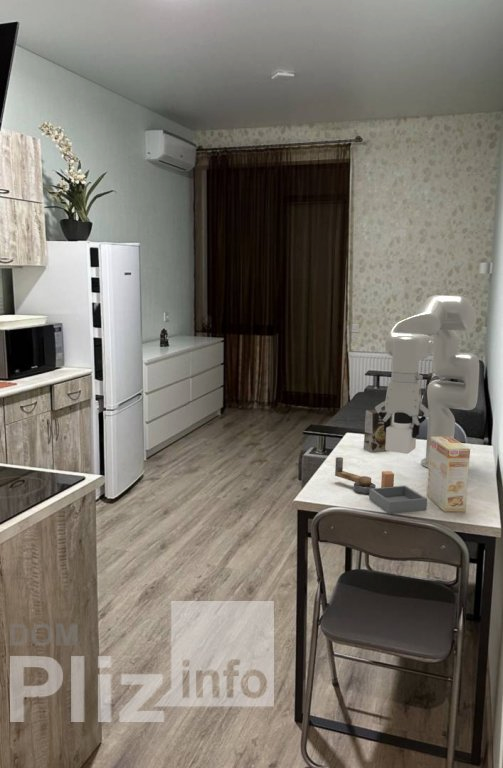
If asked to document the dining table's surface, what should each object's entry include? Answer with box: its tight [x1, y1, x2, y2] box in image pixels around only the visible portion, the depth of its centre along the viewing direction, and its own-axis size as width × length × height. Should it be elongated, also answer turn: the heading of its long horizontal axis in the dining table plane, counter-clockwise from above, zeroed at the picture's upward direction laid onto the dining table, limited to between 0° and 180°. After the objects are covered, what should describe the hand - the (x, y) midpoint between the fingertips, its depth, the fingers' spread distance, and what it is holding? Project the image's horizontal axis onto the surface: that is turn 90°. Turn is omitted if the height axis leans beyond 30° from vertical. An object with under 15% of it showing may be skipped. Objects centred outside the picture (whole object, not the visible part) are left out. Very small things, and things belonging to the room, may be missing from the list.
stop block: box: [380, 470, 395, 488], centre depth 207 cm, size 3×3×7 cm
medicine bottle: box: [385, 412, 417, 455], centre depth 194 cm, size 7×7×12 cm
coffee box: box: [363, 408, 392, 453], centre depth 258 cm, size 9×6×16 cm
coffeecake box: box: [426, 437, 471, 513], centre depth 198 cm, size 15×7×20 cm, turn 5°
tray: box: [368, 485, 428, 515], centre depth 197 cm, size 13×13×4 cm
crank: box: [334, 456, 372, 486], centre depth 212 cm, size 14×4×6 cm, turn 42°
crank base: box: [353, 482, 377, 496], centre depth 209 cm, size 7×7×2 cm
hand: (401, 435), depth 194 cm, fingers closed on medicine bottle, 7 cm apart
